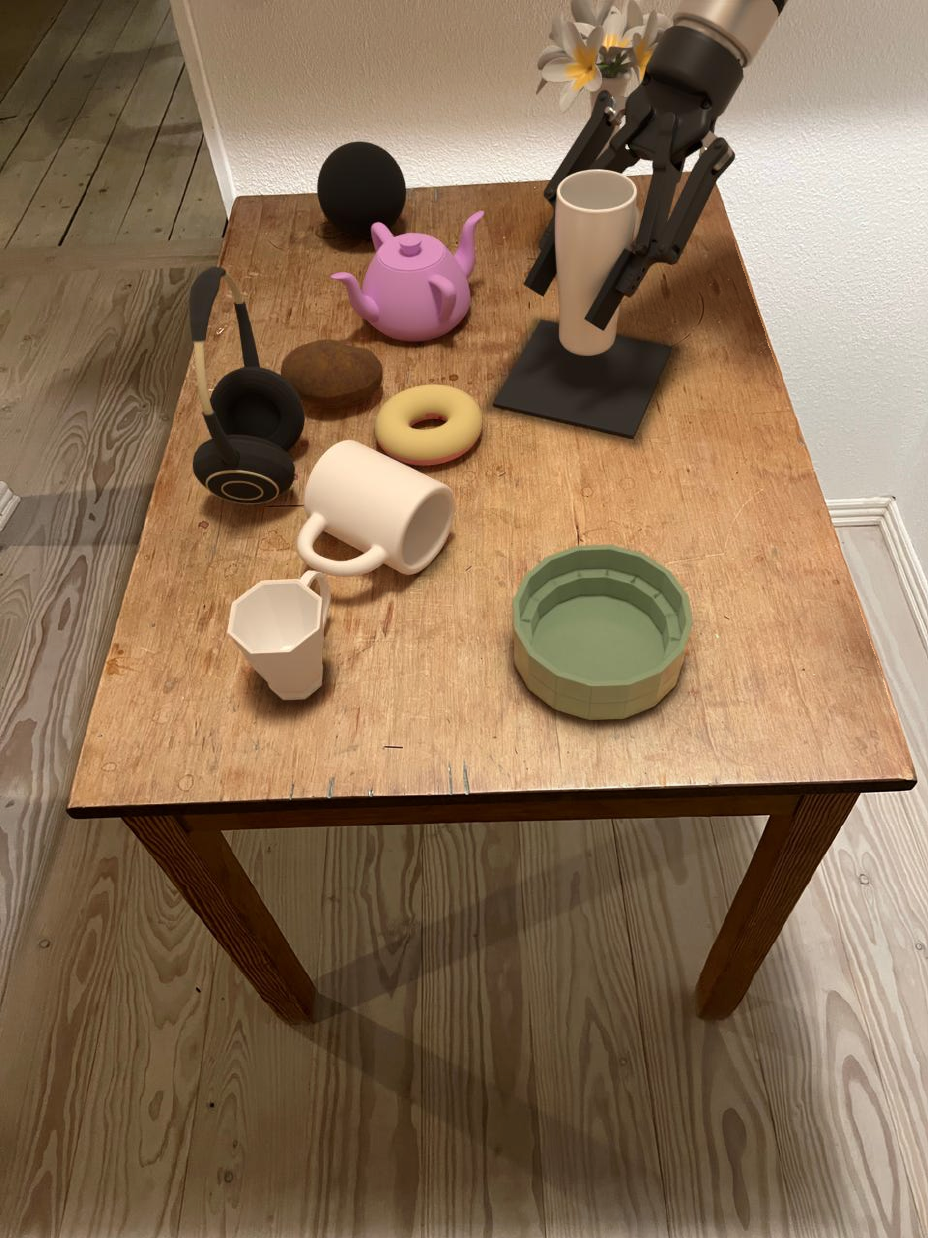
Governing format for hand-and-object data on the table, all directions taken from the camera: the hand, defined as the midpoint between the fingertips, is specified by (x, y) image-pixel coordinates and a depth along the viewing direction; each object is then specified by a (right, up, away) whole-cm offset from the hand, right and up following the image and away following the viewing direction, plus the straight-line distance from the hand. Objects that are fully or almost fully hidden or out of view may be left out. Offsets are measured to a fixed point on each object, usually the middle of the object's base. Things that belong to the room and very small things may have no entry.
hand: (563, 307), depth 84 cm
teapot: (-14, +5, +17) cm, 22 cm away
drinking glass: (+3, -1, +6) cm, 7 cm away
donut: (-12, -11, +5) cm, 17 cm away
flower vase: (+6, +14, +23) cm, 27 cm away
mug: (-17, -22, -3) cm, 28 cm away
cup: (-21, -31, -10) cm, 39 cm away
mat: (+3, -4, +9) cm, 10 cm away
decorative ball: (-20, +18, +27) cm, 38 cm away
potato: (-21, -6, +9) cm, 24 cm away
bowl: (+2, -30, -11) cm, 32 cm away
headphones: (-27, -15, +3) cm, 31 cm away
